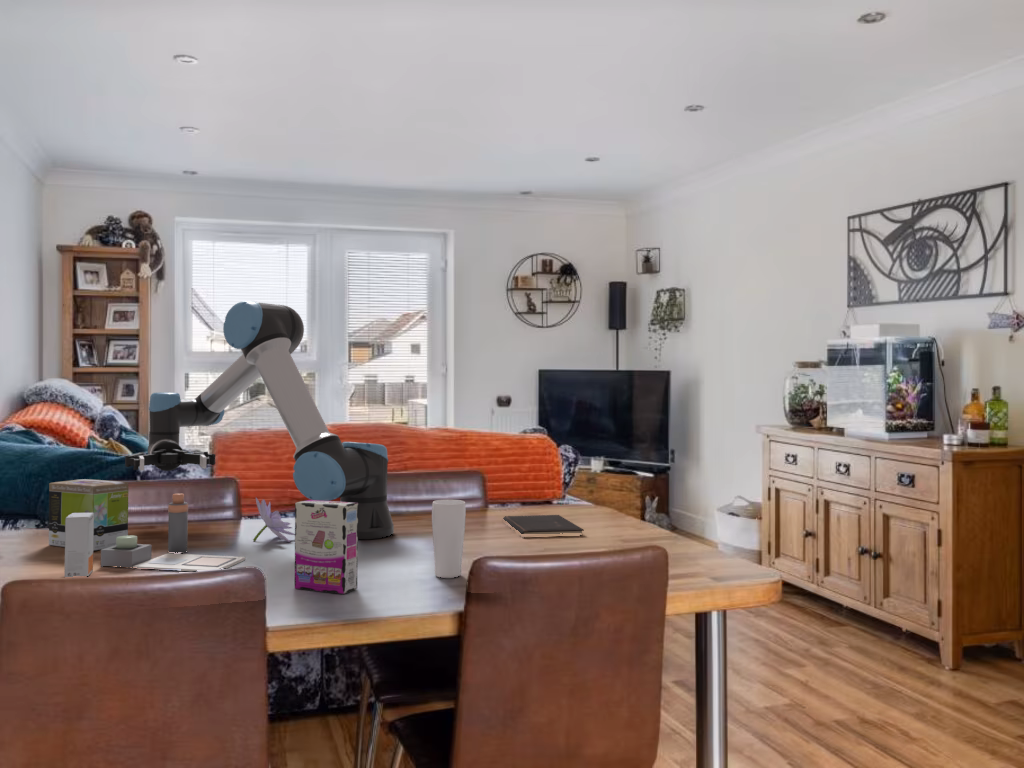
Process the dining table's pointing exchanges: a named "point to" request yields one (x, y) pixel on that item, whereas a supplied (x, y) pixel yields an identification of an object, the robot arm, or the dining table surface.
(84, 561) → the skincare box
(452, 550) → the drinking glass
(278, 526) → the water lily
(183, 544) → the grey and orange bottle
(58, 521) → the tea box
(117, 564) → the button housing
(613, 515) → the dining table surface
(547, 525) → the hardcover book
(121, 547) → the button
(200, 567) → the board
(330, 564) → the candy bar box
